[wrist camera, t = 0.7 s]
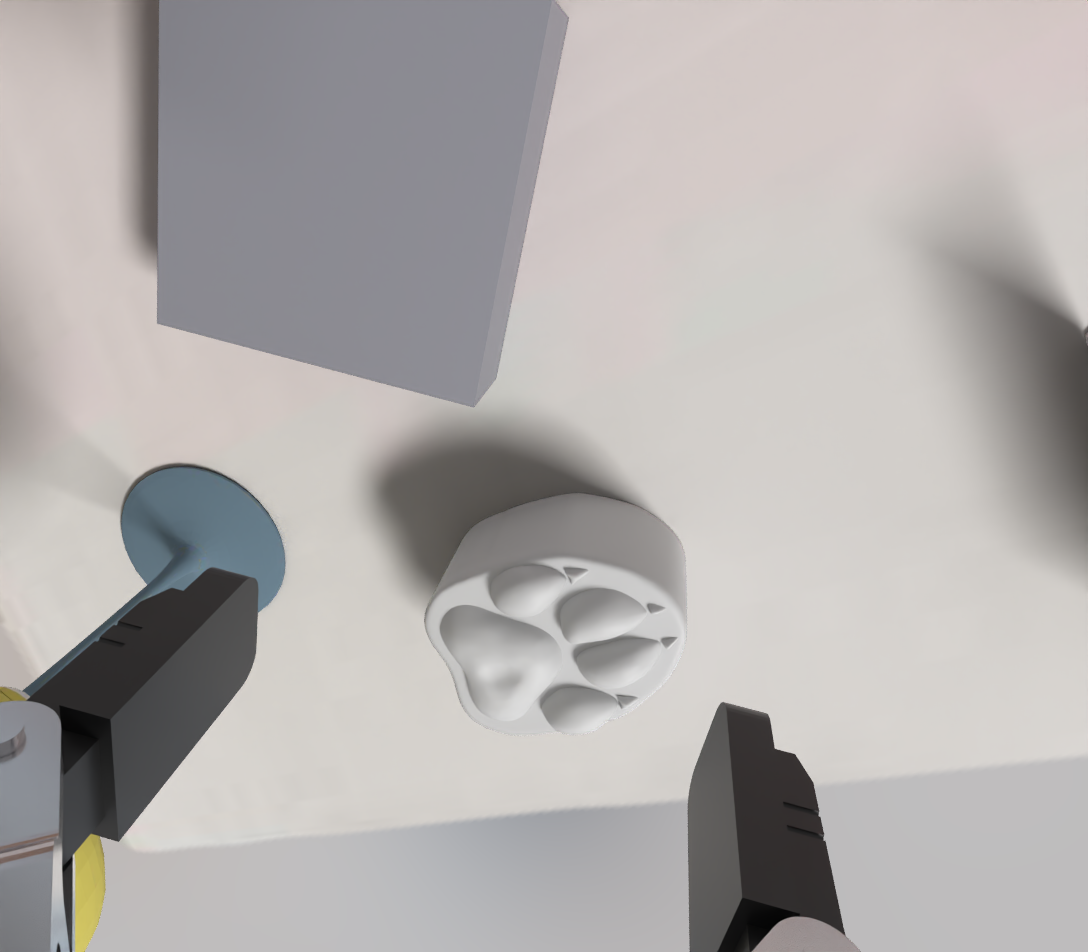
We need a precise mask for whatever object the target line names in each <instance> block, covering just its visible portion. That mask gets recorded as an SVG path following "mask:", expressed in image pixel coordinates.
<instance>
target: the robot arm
mask: <svg viewBox="0 0 1088 952" xmlns="http://www.w3.org/2000/svg"><path fill="white" fill-rule="evenodd" d="M258 591H259V590H258V582H257V580H256V579H255V578H253V577H249V576H246V575H242V574H238V573H234V572H230V571H226V570H223V569H219V568H215V567H211V568H209V569H207V570H206V571H204V572H203V573H202V574H201V575H200V576H199V577H198V578H197V579H196V580H194V581H193V582H192V583H191V584H190V585H189V586H188V587H187V588H186V589H185V590H184V591H182V590H179V589H175V588H170V589H167V590H165V591H163V592H161V593H158V594H156V595H154V596H152V597H149V598H147V599H145V600H143V601H141V602H139V603H138V604H137V605H136V606H135V607H134V608H132V609H131V610H130V611H129V612H128V613H127V614H126V615H124V616H123V617H122V618H121V619H120V620H119V621H118V624H117V625H113V626H112V627H110V628H109V629H108V630H107V631H106V632H105V633H104V634H102V635H101V636H100V638H99V641H98V642H97V641H94V642H93V643H92V644H91V645H90V646H89V647H87V648H86V649H85V650H84V651H83V652H82V653H80V654H79V655H78V656H77V657H76V658H75V659H73V660H72V661H71V662H70V663H69V664H68V665H67V666H65V667H64V668H63V669H62V670H61V671H60V672H58V673H57V674H56V675H55V676H54V677H53V678H52V679H50V680H49V681H48V682H47V683H46V684H45V685H43V686H42V687H41V688H40V689H39V690H38V691H36V692H35V693H34V694H33V695H32V696H31V697H30V698H28V699H27V700H26V701H7V702H1V703H0V952H75V855H74V853H75V852H76V851H77V850H78V849H79V847H80V846H81V845H82V844H83V843H84V841H85V840H86V839H87V838H88V837H89V835H90V834H94V835H97V836H101V837H105V838H108V839H111V840H114V841H118V842H119V841H120V839H121V838H122V837H123V836H124V834H125V833H126V832H127V831H128V829H129V828H130V827H131V826H132V824H133V823H134V822H135V821H136V819H137V818H138V817H139V815H140V814H141V813H142V812H143V810H144V809H145V808H146V807H147V805H148V804H149V803H150V802H151V800H152V799H153V798H154V797H155V795H156V794H157V793H158V792H159V790H160V789H161V788H162V786H163V785H164V784H165V783H166V781H167V780H168V779H169V778H170V776H171V775H172V774H173V773H174V771H175V770H176V769H177V768H178V766H179V765H180V764H181V763H182V761H183V760H184V759H185V757H186V756H187V755H188V754H189V752H190V751H191V750H192V749H193V747H194V746H195V745H196V744H197V742H198V741H199V740H200V739H201V737H202V736H203V735H204V734H205V732H206V731H207V730H208V728H209V727H210V726H211V725H212V723H213V722H214V721H215V720H216V718H217V717H218V716H219V715H220V713H221V712H222V711H223V710H224V708H225V707H226V706H227V705H228V703H229V702H230V701H231V700H232V698H233V697H234V696H235V694H236V693H237V692H238V691H239V689H240V688H241V687H242V685H243V684H244V682H245V681H246V679H247V677H248V675H249V673H250V671H251V668H252V665H253V662H254V659H255V654H256V643H257V617H258ZM818 814H819V808H818V804H817V799H816V794H815V789H814V784H813V782H812V780H811V778H810V777H809V775H808V774H807V772H806V771H805V769H804V768H803V766H802V764H801V763H800V761H799V760H798V758H797V757H796V755H795V754H792V753H788V752H784V751H781V750H777V749H775V748H774V742H773V735H772V729H771V723H770V718H769V716H768V714H766V713H763V712H759V711H755V710H751V709H747V708H744V707H740V706H736V705H732V704H728V703H725V702H722V703H721V704H720V705H719V707H718V709H717V711H716V713H715V716H714V719H713V721H712V724H711V727H710V729H709V732H708V735H707V737H706V740H705V742H704V745H703V748H702V750H701V753H700V756H699V758H698V761H697V764H696V766H695V769H694V772H693V776H692V780H691V785H690V790H689V797H688V862H689V863H688V864H689V929H690V930H689V933H690V934H689V935H690V952H861V951H860V950H859V949H858V948H857V947H856V946H855V944H854V943H853V942H851V941H850V940H849V939H848V938H847V937H846V936H845V932H844V928H843V923H842V918H841V914H840V909H839V904H838V899H837V895H836V890H835V886H834V880H833V875H832V870H831V866H830V861H829V856H828V851H827V846H826V842H825V841H823V837H824V832H823V827H822V823H821V818H820V817H819V816H818Z"/></svg>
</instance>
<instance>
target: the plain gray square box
mask: <svg viewBox="0 0 1088 952" xmlns="http://www.w3.org/2000/svg"><path fill="white" fill-rule="evenodd" d="M568 19H569V17H568V16H567V15H566V14H565V12H564V11H563V10H562V9H561V7H560V6H559V5H558V4H557V2H556V1H555V0H159V93H158V262H157V324H161V325H165V326H168V327H172V328H176V329H180V330H183V331H187V332H191V333H195V334H199V335H202V336H206V337H210V338H214V339H217V340H221V341H225V342H229V343H232V344H236V345H240V346H244V347H248V348H251V349H255V350H259V351H263V352H266V353H270V354H274V355H278V356H282V357H285V358H289V359H293V360H297V361H300V362H304V363H308V364H312V365H315V366H319V367H323V368H327V369H331V370H334V371H338V372H342V373H346V374H349V375H353V376H357V377H361V378H365V379H368V380H372V381H376V382H380V383H383V384H387V385H391V386H395V387H399V388H402V389H406V390H410V391H414V392H417V393H421V394H425V395H429V396H432V397H436V398H440V399H444V400H448V401H451V402H455V403H459V404H463V405H466V406H470V407H475V405H476V404H477V403H478V401H479V400H480V399H481V397H482V396H483V395H484V394H485V392H486V391H487V390H488V388H489V387H490V386H491V384H492V383H493V382H494V381H495V379H496V376H497V371H498V366H499V361H500V356H501V351H502V346H503V341H504V336H505V331H506V326H507V321H508V317H509V312H510V307H511V302H512V297H513V292H514V287H515V282H516V277H517V272H518V267H519V262H520V257H521V252H522V247H523V242H524V237H525V232H526V227H527V222H528V217H529V212H530V207H531V203H532V198H533V193H534V188H535V183H536V178H537V173H538V168H539V163H540V158H541V153H542V148H543V143H544V138H545V133H546V128H547V123H548V118H549V113H550V108H551V103H552V98H553V93H554V89H555V84H556V79H557V74H558V69H559V64H560V59H561V54H562V49H563V44H564V39H565V34H566V29H567V24H568Z"/></svg>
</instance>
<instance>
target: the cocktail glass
mask: <svg viewBox="0 0 1088 952" xmlns="http://www.w3.org/2000/svg"><path fill="white" fill-rule="evenodd" d="M121 527H122V537H123V541H124V545H125V548H126V551H127V553H128V556H129V558H130V560H131V562H132V564H133V565H134V567H135V569H136V571H137V572H138V573H139V575H140V576H141V577H142V579H143V580H144V581H145V583H146V584H147V586H146V587H145V588H144V589H142V590H141V591H140V592H139V593H138V594H137V595H136V596H134V597H133V598H132V599H131V600H130V601H129V602H127V603H126V604H125V605H124V606H123V607H122V608H121V609H119V610H118V611H117V612H116V613H115V614H114V615H112V616H111V617H110V618H109V619H108V620H107V621H105V622H104V623H103V624H102V625H101V626H100V627H98V628H97V629H96V630H95V631H94V632H92V633H91V634H90V635H89V636H88V637H87V638H85V639H84V640H83V641H82V642H81V643H79V644H78V645H77V646H76V647H75V648H74V649H72V650H71V651H70V652H69V653H68V654H66V655H65V656H64V657H63V658H62V659H60V660H59V661H58V662H57V663H56V664H54V665H53V666H52V667H51V668H50V669H48V670H47V671H46V672H45V673H44V674H42V675H41V676H40V677H39V678H38V679H36V680H35V681H34V682H33V683H31V684H30V685H29V686H28V687H26V688H25V689H24V690H23V691H21V690H19V689H16V688H12V687H0V703H1V702H7V701H26V700H27V699H28V698H30V697H31V696H32V695H33V694H34V693H35V692H36V691H38V690H39V689H40V688H41V687H42V686H43V685H45V684H46V683H47V682H48V681H49V680H50V679H52V678H53V677H54V676H55V675H56V674H57V673H58V672H60V671H61V670H62V669H63V668H64V667H65V666H67V665H68V664H69V663H70V662H71V661H72V660H73V659H75V658H76V657H77V656H78V655H79V654H80V653H82V652H83V651H84V650H85V649H86V648H87V647H89V646H90V645H91V644H92V643H93V642H94V641H97V642H98V641H99V638H100V636H101V635H102V634H104V633H105V632H106V631H107V630H108V629H109V628H110V627H112V626H113V625H117V624H118V621H119V620H120V619H121V618H122V617H123V616H124V615H126V614H127V613H128V612H129V611H130V610H131V609H132V608H134V607H135V606H136V605H137V604H138V603H139V602H141V601H143V600H145V599H147V598H149V597H152V596H154V595H156V594H158V593H161V592H163V591H165V590H167V589H170V588H175V589H179V590H182V591H184V590H185V589H186V588H187V587H188V586H189V585H190V584H191V583H192V582H193V581H194V580H196V579H197V578H198V577H199V576H200V575H201V574H202V573H203V572H204V571H206V570H207V569H209V568H211V567H215V568H219V569H223V570H226V571H230V572H234V573H238V574H242V575H246V576H249V577H253V578H255V579H256V580H257V582H258V590H259V591H258V612H259V611H261V610H262V609H263V608H265V607H266V606H267V605H268V604H269V603H270V602H271V601H272V600H273V598H274V597H275V596H276V594H277V593H278V591H279V589H280V587H281V585H282V581H283V578H284V574H285V553H284V548H283V544H282V540H281V537H280V535H279V532H278V530H277V528H276V526H275V524H274V522H273V521H272V519H271V517H270V516H269V514H268V513H267V512H266V510H265V509H264V508H263V507H262V505H261V504H260V503H259V502H258V501H257V500H256V499H255V498H254V497H253V496H252V495H251V494H250V493H249V492H247V491H246V490H245V489H243V488H242V487H241V486H239V485H238V484H237V483H235V482H233V481H231V480H229V479H228V478H226V477H224V476H222V475H219V474H217V473H214V472H211V471H208V470H204V469H200V468H193V467H172V468H167V469H164V470H160V471H157V472H155V473H153V474H151V475H149V476H147V477H146V478H144V479H143V480H142V481H140V482H139V483H138V484H137V485H136V486H135V488H134V489H133V490H132V491H131V492H130V494H129V496H128V498H127V500H126V502H125V505H124V509H123V513H122V523H121ZM74 855H75V952H85V950H86V948H87V946H88V944H89V942H90V940H91V938H92V936H93V934H94V932H95V930H96V927H97V925H98V922H99V918H100V915H101V910H102V905H103V900H104V895H105V867H104V853H103V848H102V844H101V840H100V836H97V835H94V834H90V835H89V837H88V838H87V839H86V840H85V841H84V843H83V844H82V845H81V846H80V847H79V849H78V850H77V851H76V852H75V853H74Z"/></svg>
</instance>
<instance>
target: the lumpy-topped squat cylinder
mask: <svg viewBox="0 0 1088 952" xmlns="http://www.w3.org/2000/svg"><path fill="white" fill-rule="evenodd" d="M424 622H425V629H426V632H427V635H428V637H429V639H430V641H431V643H432V645H433V646H434V648H435V649H436V650H437V652H438V653H439V655H440V656H441V657H442V659H443V660H444V662H445V663H446V665H447V666H448V668H449V670H450V672H451V675H452V677H453V680H454V683H455V687H456V690H457V694H458V698H459V700H460V703H461V705H462V707H463V709H464V710H465V712H466V713H467V714H468V716H469V717H470V718H471V719H472V720H474V721H475V722H476V723H478V724H480V725H481V726H483V727H485V728H488V729H490V730H493V731H496V732H499V733H503V734H507V735H514V736H532V735H541V734H548V733H562V734H566V735H584V734H588V733H591V732H593V731H595V730H597V729H599V728H600V727H601V726H602V725H604V724H605V723H606V722H607V721H611V720H614V719H617V718H619V717H622V716H624V715H626V714H628V713H629V712H631V711H632V710H633V709H635V708H636V707H638V706H639V705H640V704H642V703H643V702H644V701H645V700H647V699H648V698H649V697H650V696H651V695H652V694H654V693H655V692H656V691H657V690H658V689H659V688H660V687H661V686H662V685H663V684H664V683H665V682H666V681H667V680H668V678H669V677H670V676H671V674H672V673H673V671H674V669H675V668H676V666H677V664H678V662H679V660H680V657H681V655H682V652H683V650H684V646H685V643H686V637H687V584H686V557H685V552H684V549H683V546H682V544H681V542H680V540H679V538H678V537H677V535H676V534H675V533H674V532H673V530H672V529H671V528H670V527H668V526H667V525H666V524H665V523H664V522H662V521H661V520H660V519H658V518H657V517H655V516H654V515H652V514H651V513H649V512H647V511H645V510H644V509H642V508H640V507H638V506H635V505H633V504H630V503H626V502H623V501H619V500H615V499H611V498H607V497H602V496H597V495H591V494H585V493H569V494H563V495H557V496H553V497H548V498H544V499H540V500H536V501H532V502H529V503H525V504H522V505H519V506H516V507H513V508H510V509H508V510H506V511H503V512H501V513H498V514H495V515H493V516H490V517H488V518H486V519H484V520H482V521H480V522H479V523H477V524H476V525H474V526H473V527H472V528H471V529H470V530H469V531H468V532H467V533H466V535H465V536H464V538H463V540H462V541H461V543H460V545H459V547H458V549H457V551H456V553H455V554H454V556H453V558H452V560H451V562H450V564H449V566H448V567H447V569H446V571H445V573H444V575H443V577H442V579H441V580H440V582H439V584H438V586H437V588H436V590H435V592H434V594H433V596H432V598H431V599H430V601H429V604H428V606H427V609H426V612H425V619H424Z"/></svg>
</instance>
